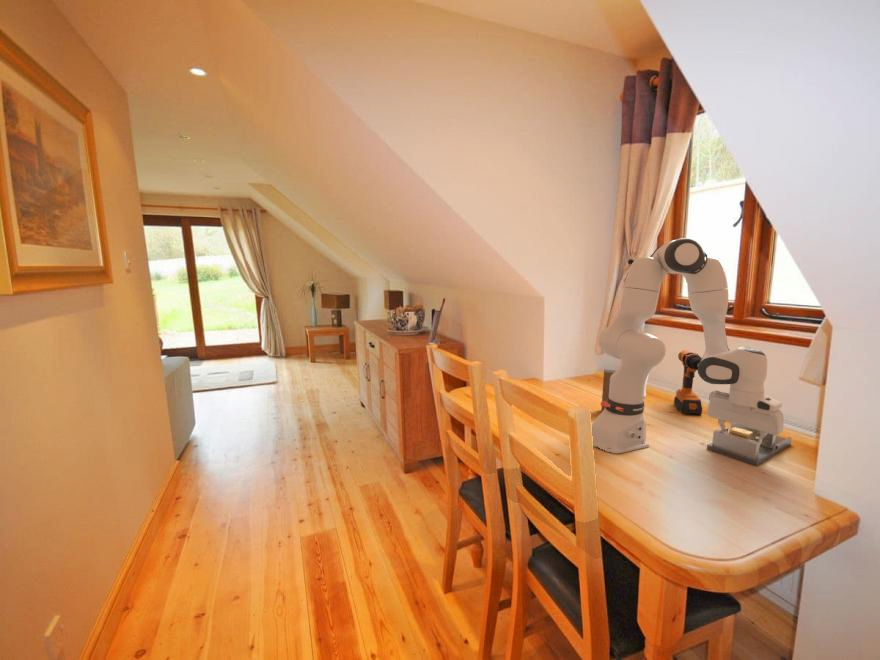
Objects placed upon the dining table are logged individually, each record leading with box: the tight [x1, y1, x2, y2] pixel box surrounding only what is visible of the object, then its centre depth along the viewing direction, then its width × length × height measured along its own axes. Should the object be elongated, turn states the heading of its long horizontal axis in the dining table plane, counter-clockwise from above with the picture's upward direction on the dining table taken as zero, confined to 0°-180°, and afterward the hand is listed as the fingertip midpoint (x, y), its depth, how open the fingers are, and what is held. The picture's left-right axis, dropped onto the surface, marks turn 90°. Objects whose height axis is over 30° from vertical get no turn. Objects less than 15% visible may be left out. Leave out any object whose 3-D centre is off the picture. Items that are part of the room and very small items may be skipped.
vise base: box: [706, 429, 792, 467], centre depth 137 cm, size 28×14×6 cm, turn 123°
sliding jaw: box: [730, 423, 777, 449], centre depth 140 cm, size 13×12×7 cm
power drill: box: [673, 349, 703, 415], centre depth 168 cm, size 22×7×25 cm, turn 165°
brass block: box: [729, 427, 753, 440], centre depth 133 cm, size 4×5×6 cm
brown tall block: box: [600, 369, 617, 414], centre depth 167 cm, size 9×4×18 cm, turn 66°
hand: (740, 438), depth 132 cm, fingers open, 8 cm apart
